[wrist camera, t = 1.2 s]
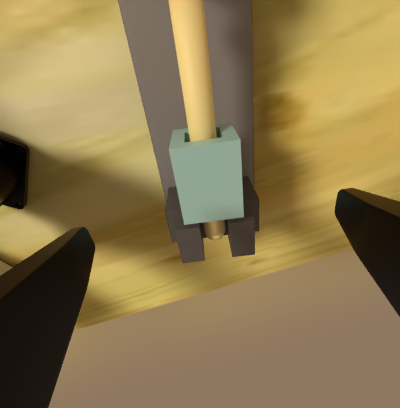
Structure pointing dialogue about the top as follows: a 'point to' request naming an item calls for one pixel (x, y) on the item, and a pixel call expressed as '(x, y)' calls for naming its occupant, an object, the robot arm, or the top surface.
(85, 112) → the top surface
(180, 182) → the sleeve
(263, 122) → the top surface
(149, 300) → the top surface
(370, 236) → the robot arm
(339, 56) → the top surface
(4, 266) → the supplement box
